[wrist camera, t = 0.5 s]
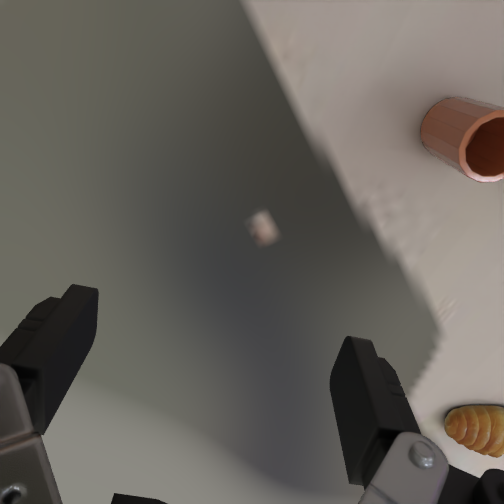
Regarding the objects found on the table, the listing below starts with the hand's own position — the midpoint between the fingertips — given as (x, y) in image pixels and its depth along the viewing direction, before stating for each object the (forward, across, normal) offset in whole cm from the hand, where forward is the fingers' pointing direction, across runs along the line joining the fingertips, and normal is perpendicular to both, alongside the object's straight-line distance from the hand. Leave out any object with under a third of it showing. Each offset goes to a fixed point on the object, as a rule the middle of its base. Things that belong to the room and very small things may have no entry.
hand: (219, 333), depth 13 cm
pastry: (+28, -37, +28) cm, 54 cm away
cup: (+28, -18, -5) cm, 33 cm away
